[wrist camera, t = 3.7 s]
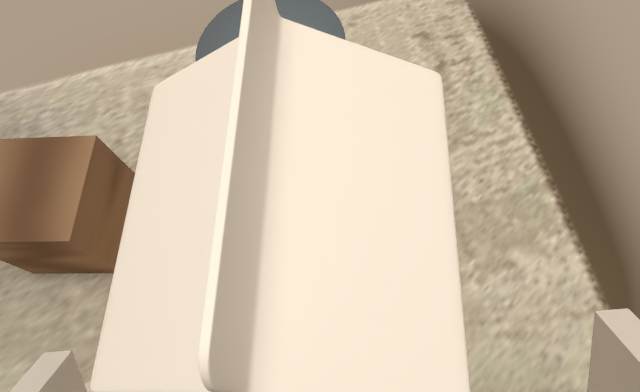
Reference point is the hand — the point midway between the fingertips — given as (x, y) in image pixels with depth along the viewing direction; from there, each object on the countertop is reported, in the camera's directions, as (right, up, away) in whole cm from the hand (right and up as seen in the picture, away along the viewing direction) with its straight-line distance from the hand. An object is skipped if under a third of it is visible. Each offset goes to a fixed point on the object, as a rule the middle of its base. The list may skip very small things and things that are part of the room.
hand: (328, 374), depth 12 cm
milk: (+1, -4, +14) cm, 14 cm away
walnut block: (-15, +3, +18) cm, 23 cm away
